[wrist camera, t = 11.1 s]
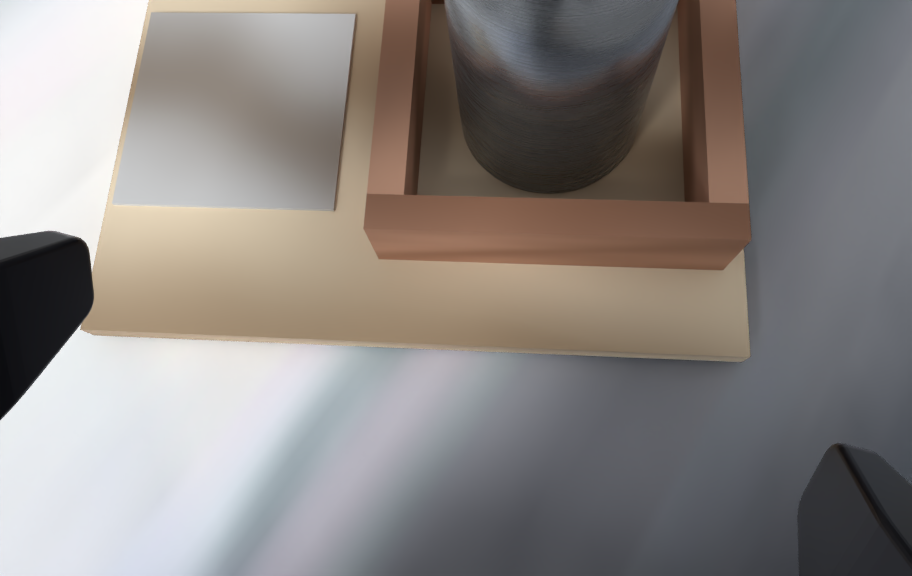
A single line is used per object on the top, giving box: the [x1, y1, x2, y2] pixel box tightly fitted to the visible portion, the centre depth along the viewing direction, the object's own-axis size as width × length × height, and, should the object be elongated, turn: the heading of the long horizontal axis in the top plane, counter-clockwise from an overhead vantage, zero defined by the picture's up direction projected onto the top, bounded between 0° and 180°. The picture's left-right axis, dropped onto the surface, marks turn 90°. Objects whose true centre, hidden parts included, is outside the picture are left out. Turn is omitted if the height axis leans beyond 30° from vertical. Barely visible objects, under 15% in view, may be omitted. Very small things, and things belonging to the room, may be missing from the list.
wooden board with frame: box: [80, 0, 751, 362], centre depth 18 cm, size 12×16×3 cm
